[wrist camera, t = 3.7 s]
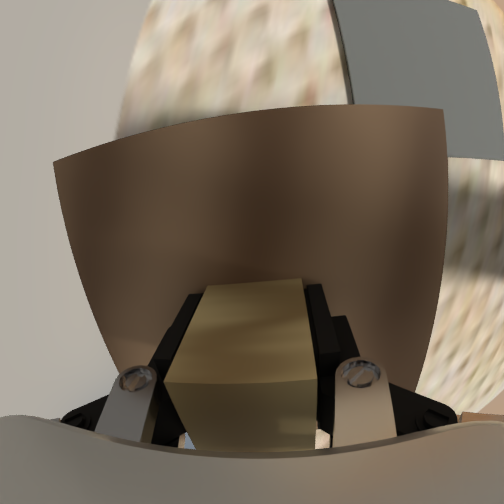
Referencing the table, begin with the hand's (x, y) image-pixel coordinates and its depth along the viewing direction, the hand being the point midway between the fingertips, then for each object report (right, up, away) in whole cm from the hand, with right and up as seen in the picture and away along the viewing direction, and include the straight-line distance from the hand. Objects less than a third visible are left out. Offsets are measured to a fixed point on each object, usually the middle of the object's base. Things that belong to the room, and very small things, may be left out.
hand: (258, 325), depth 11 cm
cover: (+1, +5, +13) cm, 14 cm away
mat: (+16, +19, +7) cm, 26 cm away
